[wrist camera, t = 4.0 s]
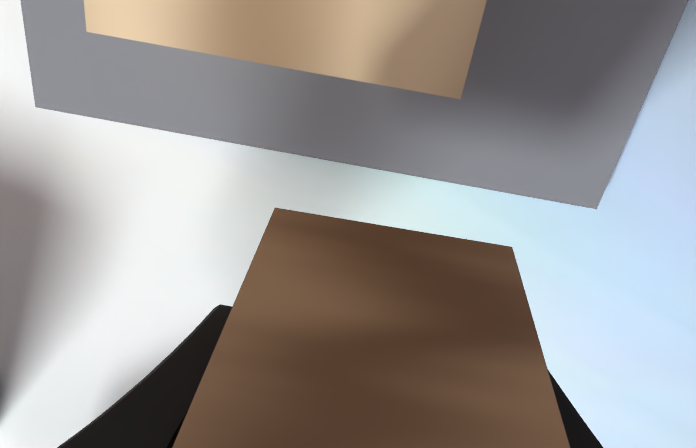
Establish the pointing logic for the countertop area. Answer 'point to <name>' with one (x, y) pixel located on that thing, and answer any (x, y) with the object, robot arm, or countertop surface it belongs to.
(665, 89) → the countertop surface
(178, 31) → the oak base
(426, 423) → the walnut block
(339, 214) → the countertop surface
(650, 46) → the slate mat
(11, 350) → the countertop surface
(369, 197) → the countertop surface
